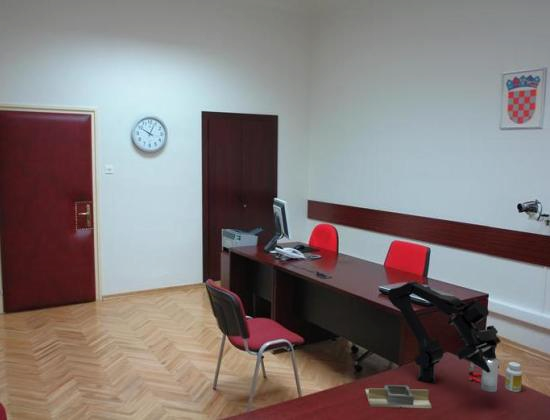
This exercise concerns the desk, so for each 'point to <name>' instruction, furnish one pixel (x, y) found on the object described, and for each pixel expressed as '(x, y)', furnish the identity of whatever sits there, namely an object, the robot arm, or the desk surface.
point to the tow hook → (473, 374)
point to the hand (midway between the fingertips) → (493, 370)
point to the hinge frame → (398, 397)
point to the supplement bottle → (513, 377)
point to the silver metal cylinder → (490, 375)
